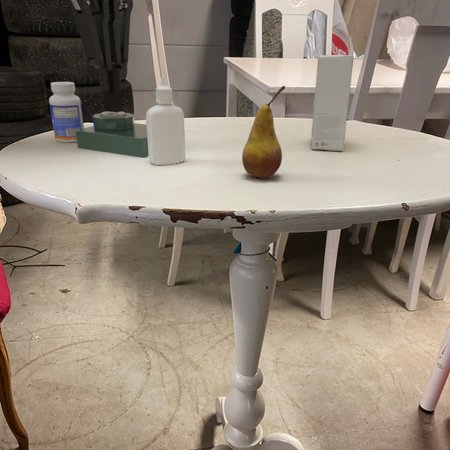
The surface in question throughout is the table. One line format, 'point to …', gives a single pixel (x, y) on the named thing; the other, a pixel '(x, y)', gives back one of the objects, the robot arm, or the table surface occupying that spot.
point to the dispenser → (115, 136)
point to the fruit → (262, 145)
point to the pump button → (113, 114)
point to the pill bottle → (65, 111)
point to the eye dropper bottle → (165, 129)
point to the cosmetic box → (331, 101)
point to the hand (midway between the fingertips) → (113, 111)
